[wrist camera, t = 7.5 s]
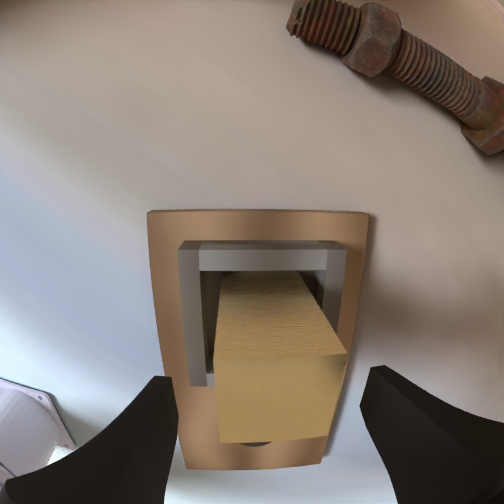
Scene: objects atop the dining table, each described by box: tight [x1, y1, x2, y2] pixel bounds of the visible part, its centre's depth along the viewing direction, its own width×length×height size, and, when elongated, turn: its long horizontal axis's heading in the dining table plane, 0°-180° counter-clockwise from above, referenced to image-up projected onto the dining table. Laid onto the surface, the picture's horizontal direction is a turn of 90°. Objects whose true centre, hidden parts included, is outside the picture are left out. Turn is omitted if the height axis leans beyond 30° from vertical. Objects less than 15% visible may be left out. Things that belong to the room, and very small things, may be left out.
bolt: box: [286, 0, 504, 155], centre depth 12 cm, size 6×5×15 cm
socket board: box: [147, 209, 369, 470], centre depth 17 cm, size 12×22×3 cm, turn 179°
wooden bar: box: [213, 271, 347, 443], centre depth 13 cm, size 4×4×8 cm
